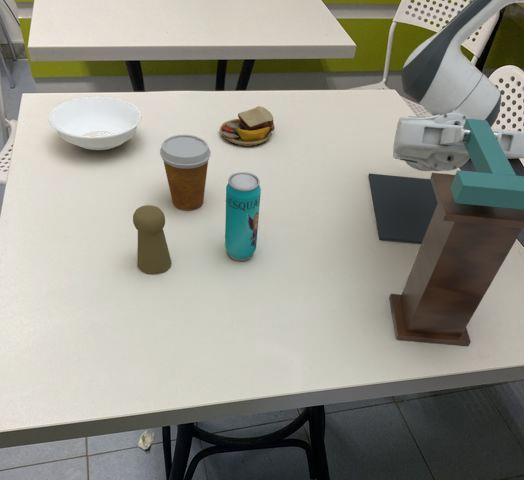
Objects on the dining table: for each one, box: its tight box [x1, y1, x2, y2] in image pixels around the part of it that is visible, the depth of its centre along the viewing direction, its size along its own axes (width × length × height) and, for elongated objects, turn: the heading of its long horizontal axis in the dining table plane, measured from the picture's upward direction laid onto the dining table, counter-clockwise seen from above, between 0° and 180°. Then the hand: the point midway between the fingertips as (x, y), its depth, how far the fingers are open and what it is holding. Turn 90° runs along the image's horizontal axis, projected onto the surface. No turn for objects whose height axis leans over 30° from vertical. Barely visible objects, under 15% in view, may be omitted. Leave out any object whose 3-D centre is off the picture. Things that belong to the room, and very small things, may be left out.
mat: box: [368, 172, 438, 244], centre depth 105 cm, size 16×24×1 cm, turn 177°
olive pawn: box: [132, 204, 173, 275], centre depth 84 cm, size 6×6×11 cm
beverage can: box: [224, 171, 262, 262], centre depth 86 cm, size 6×6×15 cm
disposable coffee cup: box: [159, 134, 212, 211], centre depth 96 cm, size 10×10×12 cm
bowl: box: [48, 95, 143, 151], centre depth 111 cm, size 20×20×6 cm
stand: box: [388, 172, 524, 347], centre depth 75 cm, size 13×10×24 cm
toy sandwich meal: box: [219, 105, 275, 147], centre depth 119 cm, size 12×14×5 cm
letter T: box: [450, 119, 524, 209], centre depth 66 cm, size 12×18×2 cm, turn 177°
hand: (480, 137), depth 69 cm, fingers closed on letter T, 3 cm apart
